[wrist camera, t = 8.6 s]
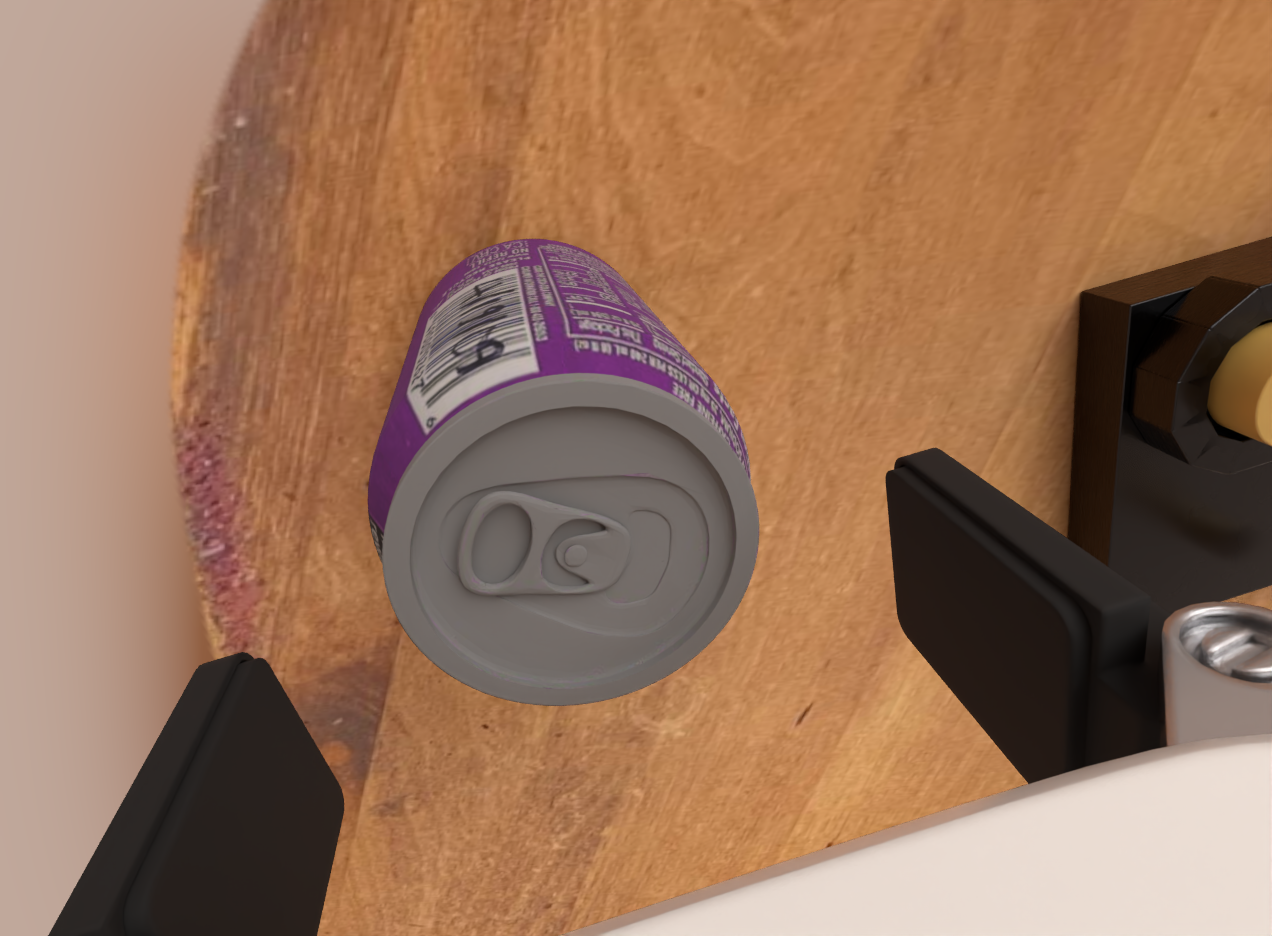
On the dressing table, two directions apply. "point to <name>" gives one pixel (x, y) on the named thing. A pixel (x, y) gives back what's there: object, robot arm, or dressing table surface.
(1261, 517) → the lamp base
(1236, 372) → the button
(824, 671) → the dressing table surface
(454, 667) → the beverage can
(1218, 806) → the robot arm
